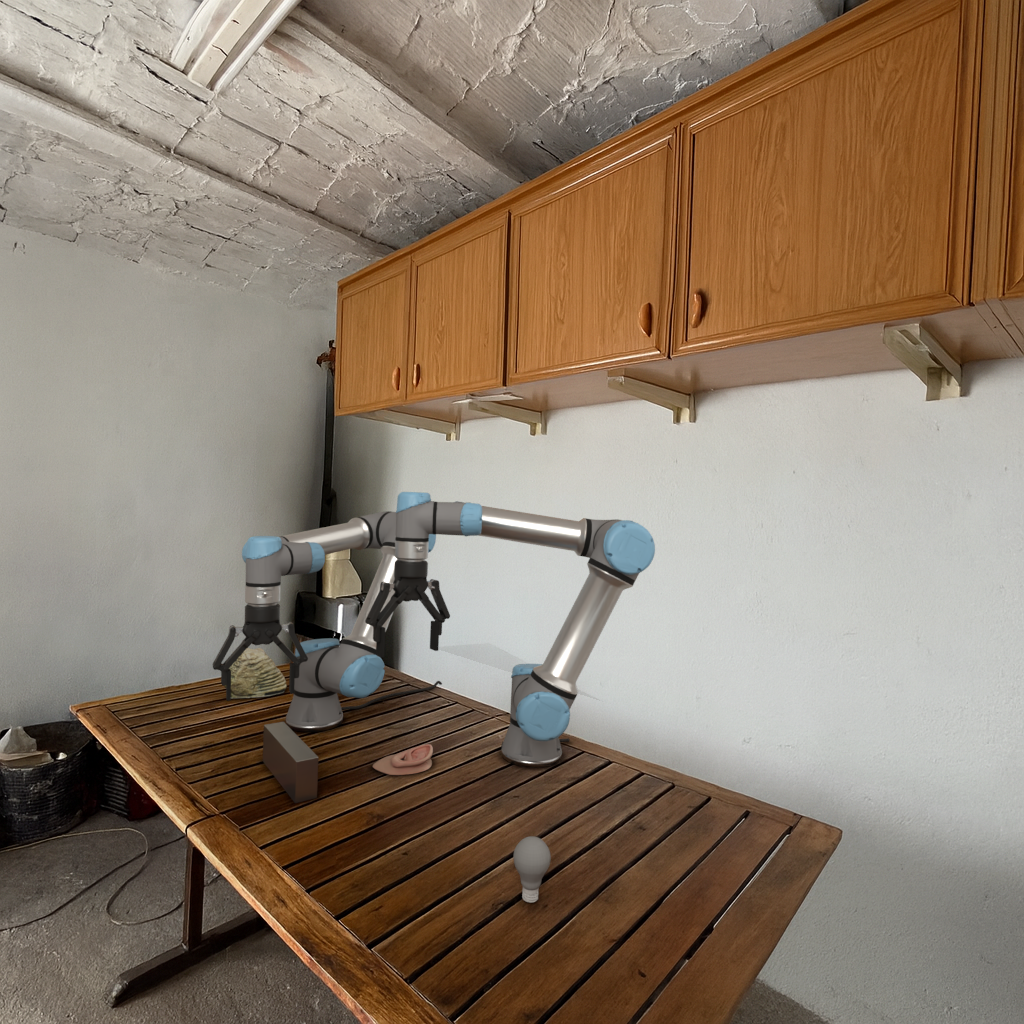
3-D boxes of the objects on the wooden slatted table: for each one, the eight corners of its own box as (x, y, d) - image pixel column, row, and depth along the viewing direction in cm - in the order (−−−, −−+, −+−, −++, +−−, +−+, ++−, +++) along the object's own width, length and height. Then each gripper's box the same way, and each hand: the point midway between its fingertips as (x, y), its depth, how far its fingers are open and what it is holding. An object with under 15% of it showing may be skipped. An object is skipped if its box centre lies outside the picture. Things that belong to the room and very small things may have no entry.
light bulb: (510, 888, 105) (512, 829, 104) (546, 888, 105) (548, 829, 105) (513, 912, 99) (515, 849, 98) (551, 912, 99) (554, 849, 99)
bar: (262, 761, 150) (263, 724, 150) (282, 757, 153) (283, 721, 153) (294, 803, 130) (296, 761, 130) (317, 797, 133) (318, 757, 133)
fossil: (218, 695, 195) (220, 647, 195) (278, 685, 208) (279, 640, 207) (228, 703, 189) (230, 653, 188) (289, 692, 201) (290, 645, 201)
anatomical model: (367, 754, 146) (387, 737, 157) (366, 771, 146) (386, 752, 158) (422, 762, 144) (438, 743, 155) (421, 779, 144) (437, 759, 155)
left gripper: (202, 609, 136) (200, 707, 137) (321, 603, 147) (319, 693, 148) (201, 603, 142) (199, 696, 143) (315, 598, 154) (313, 684, 155)
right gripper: (366, 562, 133) (362, 663, 134) (466, 560, 148) (463, 650, 148) (352, 559, 139) (349, 655, 140) (450, 557, 154) (446, 643, 154)
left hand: (260, 695), depth 146 cm, fingers open, 13 cm apart
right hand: (407, 653), depth 144 cm, fingers open, 13 cm apart
